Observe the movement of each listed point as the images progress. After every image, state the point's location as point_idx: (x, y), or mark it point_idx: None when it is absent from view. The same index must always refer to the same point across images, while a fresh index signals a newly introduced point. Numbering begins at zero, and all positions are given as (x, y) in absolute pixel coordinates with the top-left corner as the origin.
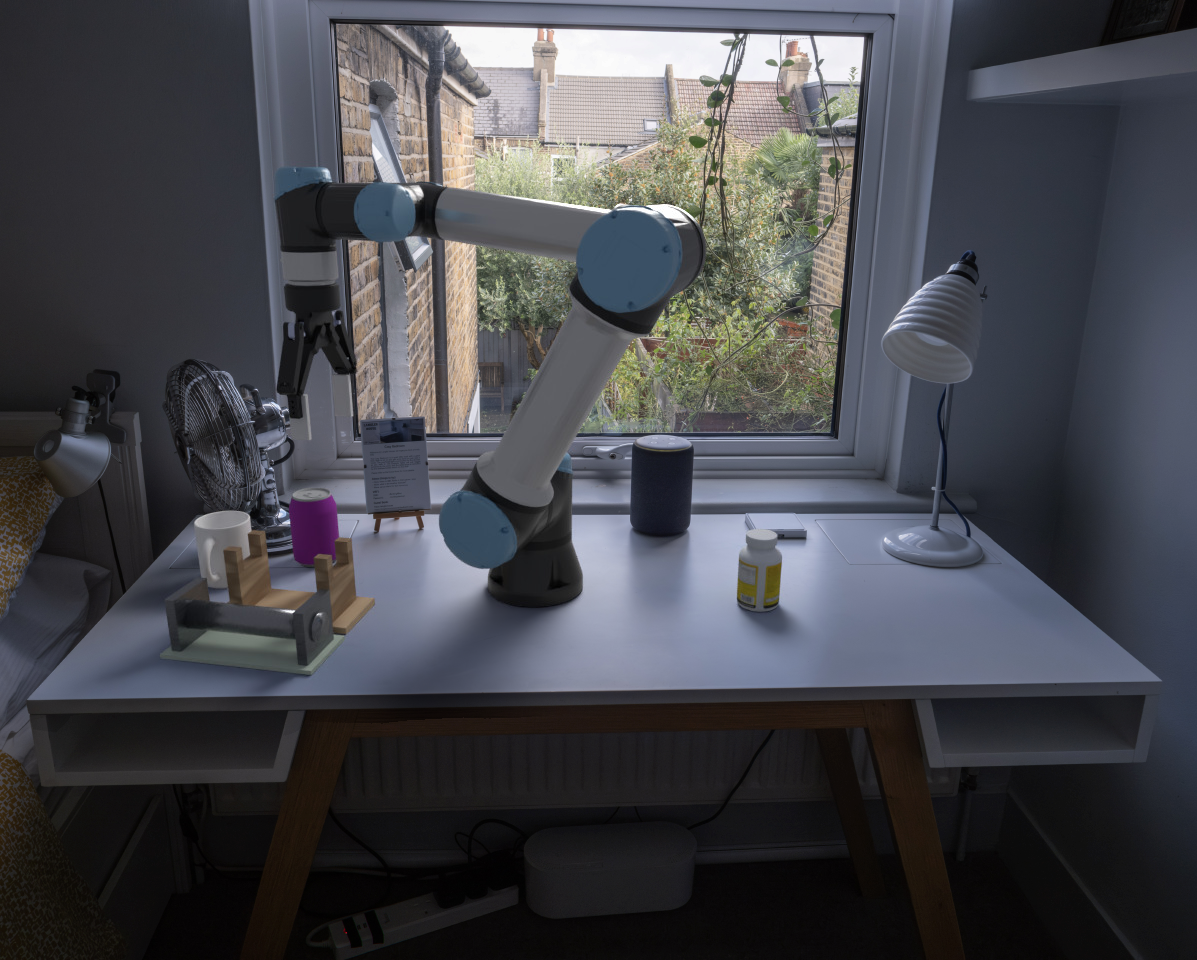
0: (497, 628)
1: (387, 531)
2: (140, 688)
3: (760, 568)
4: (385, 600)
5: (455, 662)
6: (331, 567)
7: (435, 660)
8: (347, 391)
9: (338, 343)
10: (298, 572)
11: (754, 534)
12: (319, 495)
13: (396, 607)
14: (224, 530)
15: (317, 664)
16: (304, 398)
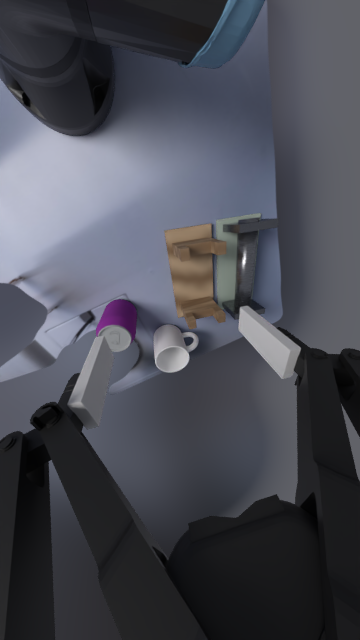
0: (165, 73)
1: (46, 300)
2: (274, 290)
3: None
4: (155, 226)
5: (231, 95)
6: (216, 241)
7: (231, 120)
8: (93, 371)
9: (94, 543)
10: (143, 309)
11: None
12: (111, 333)
13: (162, 210)
14: (184, 348)
15: (252, 214)
16: (295, 345)
